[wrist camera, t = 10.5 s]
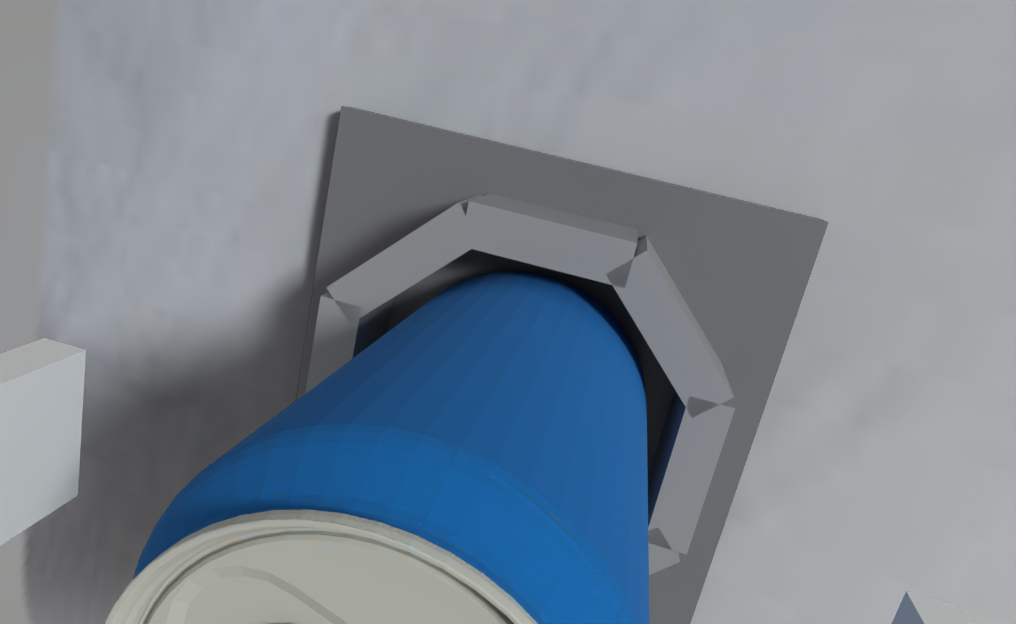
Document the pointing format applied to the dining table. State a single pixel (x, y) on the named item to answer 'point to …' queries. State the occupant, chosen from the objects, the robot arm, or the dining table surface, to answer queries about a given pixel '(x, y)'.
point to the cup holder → (593, 270)
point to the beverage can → (429, 481)
